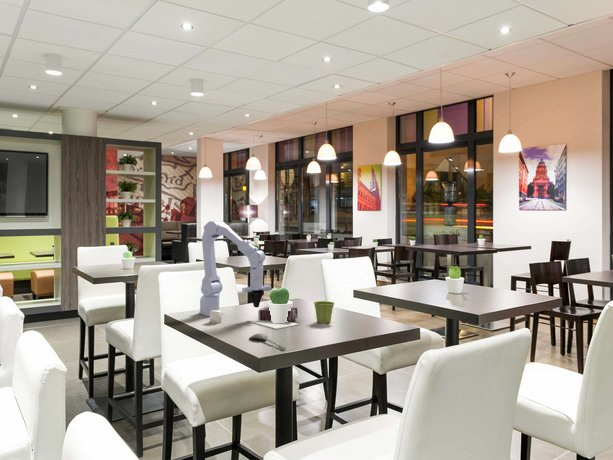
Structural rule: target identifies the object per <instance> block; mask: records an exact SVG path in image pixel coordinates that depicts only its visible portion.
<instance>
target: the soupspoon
mask: <svg viewBox="0 0 613 460" xmlns="http://www.w3.org/2000/svg"><path fill="white" fill-rule="evenodd" d="M268 337H269V336H268V335H267V334H264V333H255V334H253V335H251V336H250V337H248V338H249V339H259V340H263V341H268V342H270V343H272V344H274V345H275V346H277V347H278V348H279V349H280V350H283V351H286V350H287V347H285V346H282V345H281V344H278V343H277V342H275V341H273V340H271V339H268Z"/></svg>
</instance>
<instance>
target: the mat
mask: <svg viewBox="0 0 613 460" xmlns="http://www.w3.org/2000/svg"><path fill="white" fill-rule="evenodd" d="M250 323H252V324H254V325H259V326H262V327H266V328H270V329H273V330H281V329H286V328H291V327H296V326H300V323H296V322H294V321H292V322H290V321H288V322H285V323H273V322H272V321H266V320H259V319H258V320H253V321H251V322H250Z"/></svg>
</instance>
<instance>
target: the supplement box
mask: <svg viewBox="0 0 613 460" xmlns="http://www.w3.org/2000/svg"><path fill="white" fill-rule="evenodd" d="M269 307H270V306H264V307H261V308H260V309H258V312H257V313H258V320H266V321H271V315H270V311H269ZM290 308H291V311H288V317H287V321H289V322H294V321H295V320H297V319H298V307H290Z"/></svg>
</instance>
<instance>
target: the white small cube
mask: <svg viewBox="0 0 613 460" xmlns="http://www.w3.org/2000/svg"><path fill="white" fill-rule="evenodd" d="M222 313H223V311H222V310H221V309H219V310H211V311H210V316H209V323H210V324H221V323H222V316H223V314H222Z"/></svg>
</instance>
